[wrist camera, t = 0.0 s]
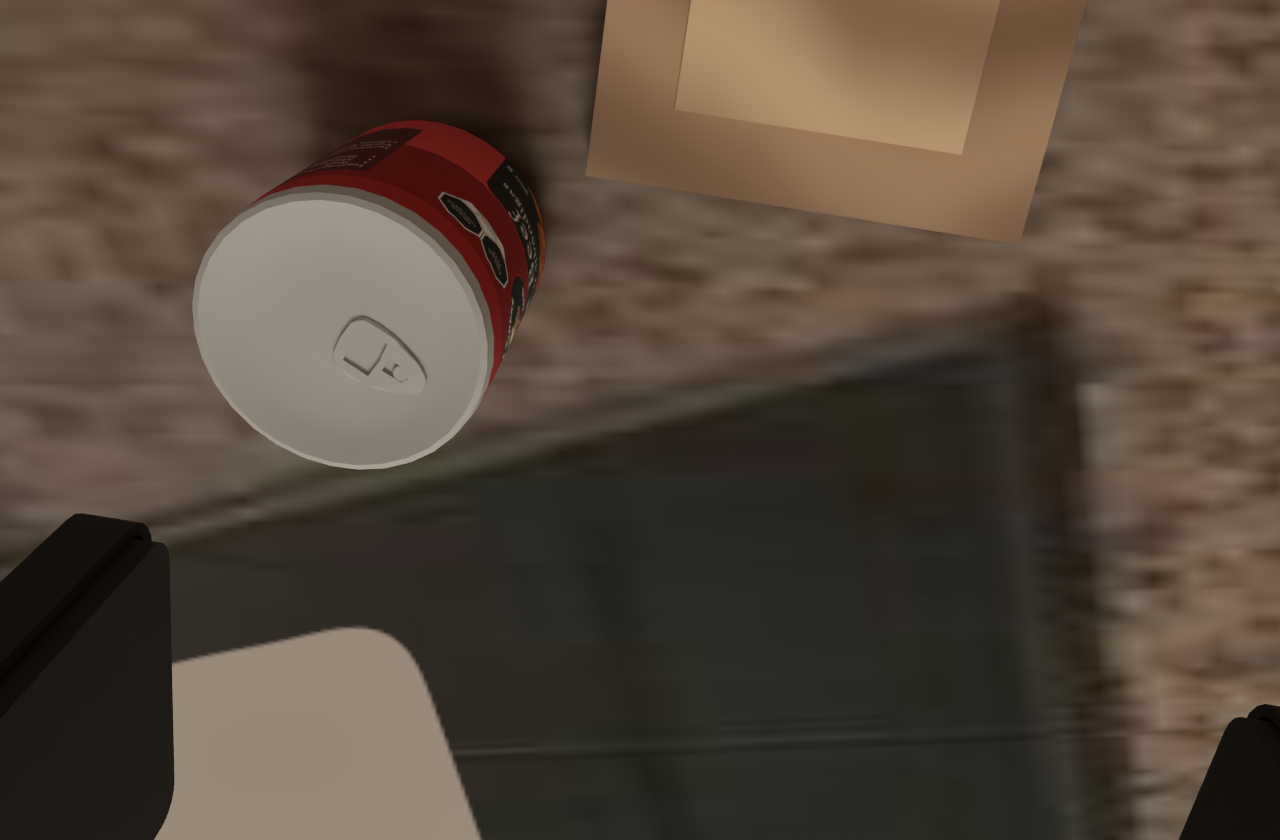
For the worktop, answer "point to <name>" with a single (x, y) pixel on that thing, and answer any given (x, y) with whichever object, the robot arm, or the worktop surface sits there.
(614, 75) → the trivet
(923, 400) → the worktop surface
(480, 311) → the canned food
